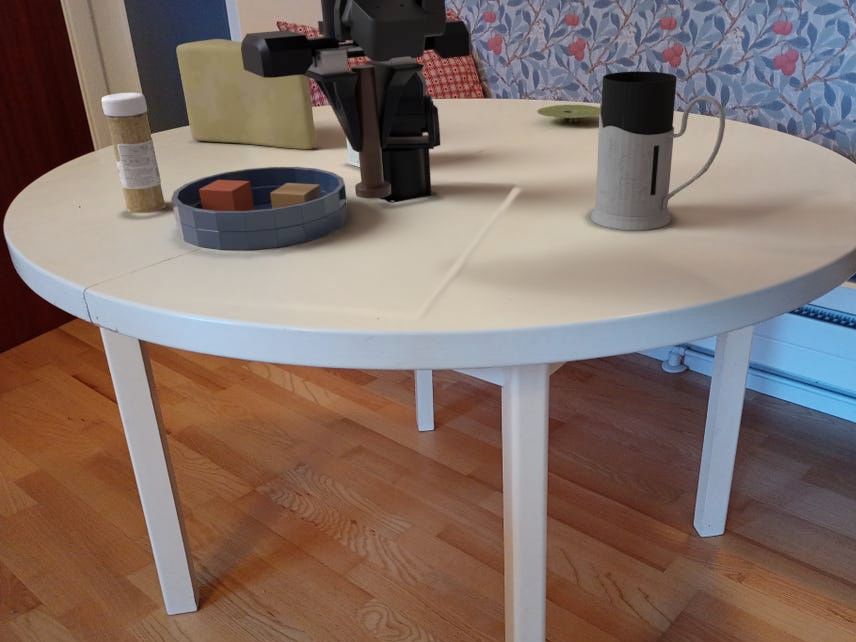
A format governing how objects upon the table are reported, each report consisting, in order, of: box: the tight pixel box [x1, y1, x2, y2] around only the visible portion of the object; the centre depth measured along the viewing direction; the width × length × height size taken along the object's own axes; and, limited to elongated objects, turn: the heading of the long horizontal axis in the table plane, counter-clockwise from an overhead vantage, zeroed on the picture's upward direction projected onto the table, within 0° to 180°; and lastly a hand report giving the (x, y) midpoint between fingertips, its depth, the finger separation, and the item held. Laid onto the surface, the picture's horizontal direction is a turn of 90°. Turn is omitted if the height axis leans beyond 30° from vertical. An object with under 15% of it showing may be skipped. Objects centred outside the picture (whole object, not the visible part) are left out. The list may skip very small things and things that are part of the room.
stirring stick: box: [350, 64, 391, 200], centre depth 72 cm, size 3×3×11 cm
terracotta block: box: [199, 180, 254, 211], centre depth 91 cm, size 4×4×4 cm
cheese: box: [176, 38, 317, 150], centre depth 127 cm, size 22×10×15 cm, turn 59°
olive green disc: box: [536, 104, 600, 124], centre depth 138 cm, size 11×11×2 cm
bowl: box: [170, 166, 349, 251], centre depth 90 cm, size 18×18×4 cm
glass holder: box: [590, 70, 726, 231], centre depth 86 cm, size 9×14×15 cm, turn 49°
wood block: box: [270, 183, 321, 209], centre depth 89 cm, size 4×4×4 cm
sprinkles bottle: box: [101, 92, 167, 214], centre depth 95 cm, size 5×5×14 cm
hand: (369, 149), depth 73 cm, fingers closed on stirring stick, 2 cm apart
